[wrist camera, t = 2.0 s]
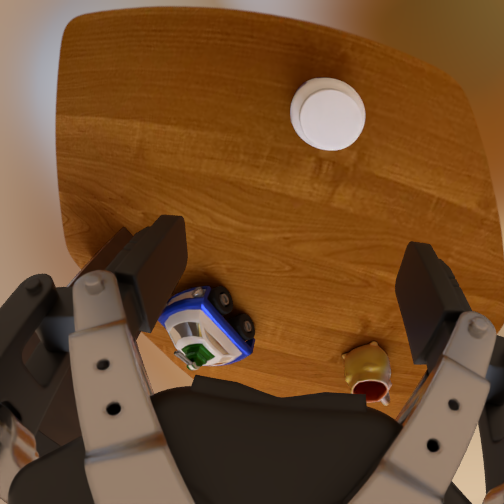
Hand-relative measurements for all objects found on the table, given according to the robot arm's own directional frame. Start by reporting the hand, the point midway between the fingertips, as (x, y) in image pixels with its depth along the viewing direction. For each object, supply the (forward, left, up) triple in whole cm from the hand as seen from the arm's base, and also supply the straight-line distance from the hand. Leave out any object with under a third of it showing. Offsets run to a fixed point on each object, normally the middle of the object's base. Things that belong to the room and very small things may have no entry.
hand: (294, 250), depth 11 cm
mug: (+34, -9, -20) cm, 40 cm away
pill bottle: (-1, +3, -20) cm, 20 cm away
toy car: (+13, -23, -20) cm, 33 cm away
